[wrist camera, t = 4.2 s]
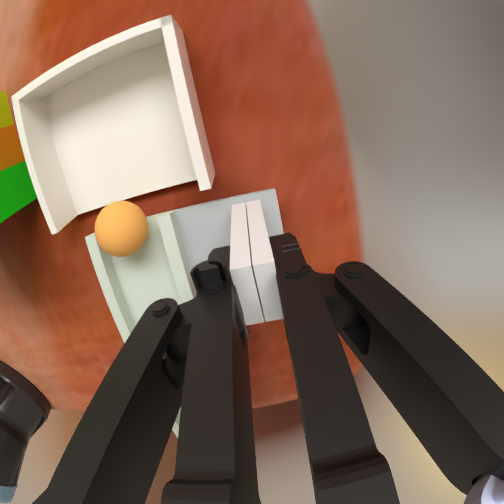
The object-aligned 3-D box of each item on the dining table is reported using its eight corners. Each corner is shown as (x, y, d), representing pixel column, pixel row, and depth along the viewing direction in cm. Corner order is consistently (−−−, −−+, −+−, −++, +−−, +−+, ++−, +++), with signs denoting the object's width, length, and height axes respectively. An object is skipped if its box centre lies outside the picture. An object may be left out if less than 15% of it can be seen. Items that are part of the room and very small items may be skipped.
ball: (100, 201, 16) (117, 245, 17) (77, 221, 13) (99, 272, 14) (144, 187, 15) (160, 235, 17) (126, 205, 13) (147, 261, 14)
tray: (75, 214, 18) (51, 234, 15) (40, 94, 13) (11, 96, 10) (215, 173, 18) (211, 188, 15) (182, 30, 13) (171, 14, 10)
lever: (309, 413, 23) (314, 436, 20) (185, 428, 23) (181, 450, 20) (273, 188, 17) (278, 191, 14) (100, 229, 17) (80, 239, 15)
